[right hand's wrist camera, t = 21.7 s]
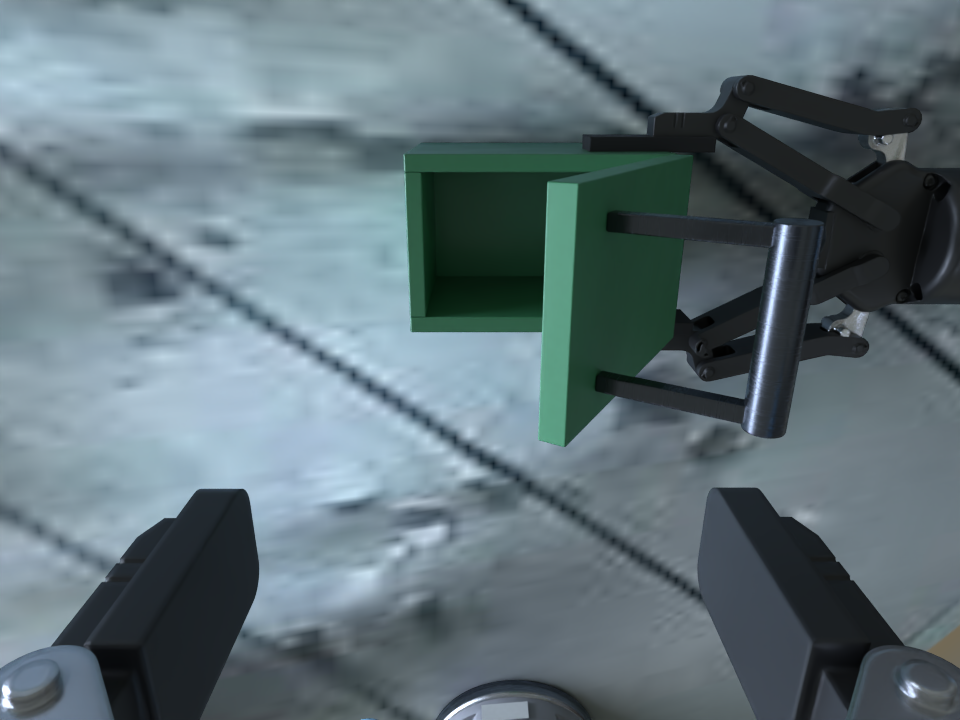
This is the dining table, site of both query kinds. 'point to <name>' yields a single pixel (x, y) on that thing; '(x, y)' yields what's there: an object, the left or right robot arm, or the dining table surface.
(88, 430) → the dining table surface
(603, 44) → the dining table surface
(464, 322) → the chest
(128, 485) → the dining table surface
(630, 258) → the lid
